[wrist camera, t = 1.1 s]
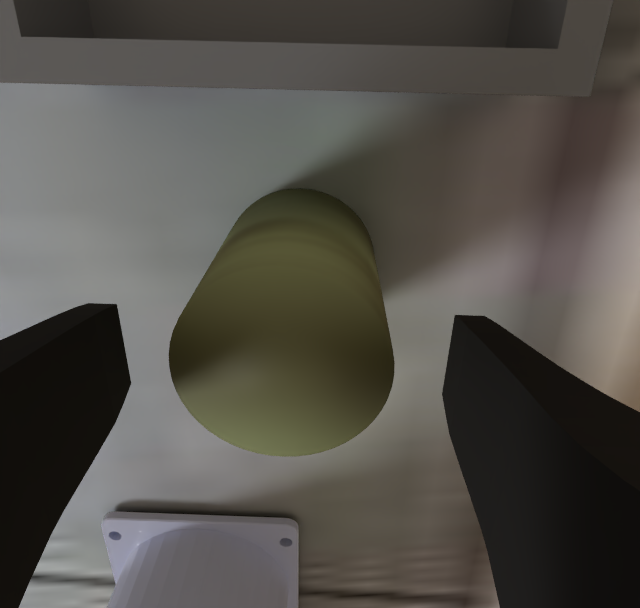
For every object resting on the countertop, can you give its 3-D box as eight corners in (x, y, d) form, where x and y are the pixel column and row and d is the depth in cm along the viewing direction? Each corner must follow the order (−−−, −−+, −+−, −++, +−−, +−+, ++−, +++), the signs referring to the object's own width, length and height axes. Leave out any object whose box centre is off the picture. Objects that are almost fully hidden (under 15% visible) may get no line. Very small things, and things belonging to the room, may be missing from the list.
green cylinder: (368, 329, 17) (385, 460, 11) (231, 324, 17) (181, 452, 11) (379, 190, 15) (404, 270, 9) (221, 186, 15) (155, 262, 9)
